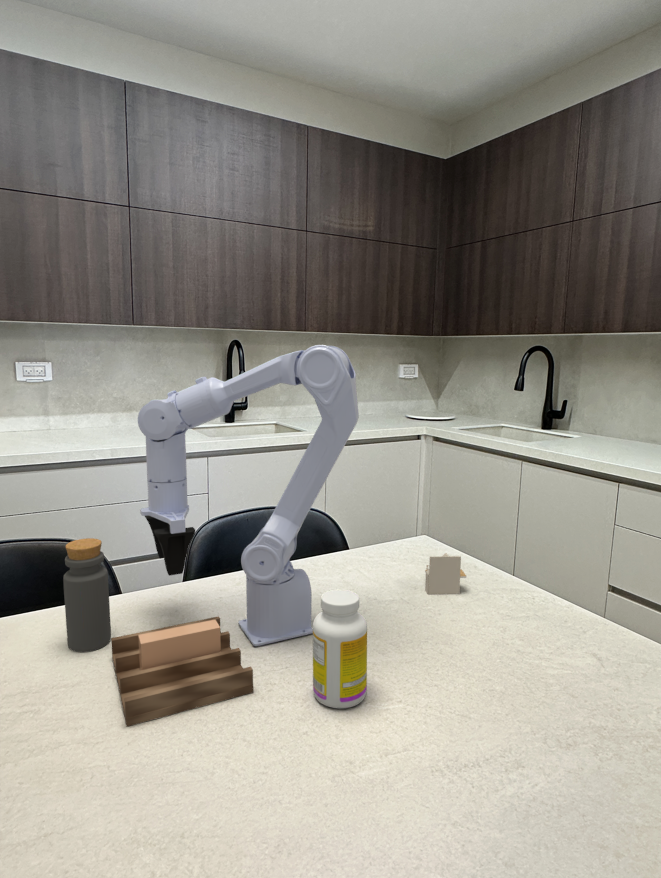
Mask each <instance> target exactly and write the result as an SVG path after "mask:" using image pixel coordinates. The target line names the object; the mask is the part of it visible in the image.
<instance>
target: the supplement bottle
mask: <svg viewBox="0 0 661 878" xmlns="http://www.w3.org/2000/svg"><path fill="white" fill-rule="evenodd" d="M320 608H321V610H322V611H320V612H319V613H318V614H317V615H316V616H315V617H314V619H313V622H312V629H313V633H312V691H313V695H314V698H316V700H317V701H318V702H319V703H320V704H322V705H324V706H326V707H328V708H329V707H330V708H332V709H348V708H352V707H355V706H357V705H358V704H360V703H361V702H363V700H364V699H365V698H366V695H367V691H368V690H367V689H368V688H367V687H368V685H367V682H368V623H367V620H366V618H365V616H364V615H363V614H362V613H360V612H359V608H360V595H359V594H358V593H356V592H355V591H352V590H349V589H343V588H338V589H337V588H336V589H331V590H327V591H324V592H323V593H322V594H321V596H320Z"/></svg>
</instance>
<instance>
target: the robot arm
mask: <svg viewBox="0 0 661 878" xmlns="http://www.w3.org/2000/svg"><path fill="white" fill-rule="evenodd" d="M194 382H195V383H194V384H193V385H191V386H189V387H186V388H184V389H181V390H180V391H177V390H171V391H169V392H168V391H167V394H166V395H167V398H163V399H151V400H149V401H148V402H147V403H146V404H145V405H143V406H141V408H140V410H139V411H138V415H137V425H138V428H139V430H140V432H141V433H142V434H143V436H144V437H145V456H146V478H147V479H146V480H147V482H146V483H147V501H148V502H147V503H148V507H142V508H140V509H139V511H140V512H139V513H140V515H141V516H142V517H144V518H145V520H146V521H147V522H148V525H149V527H150V529H151V532H152V536H153V540H154V543H155V549H156V552H157V556H158V558H159V559H164V560H163V561H164V564H165V570H166V573H167V575H168V576H175V575H182V574H183V573H184V570H185V566H186V561H187V560H186V559H187V555H188V552H189V551H188V549H189V547H190V544H191V542H192V541H193V538H194V537H195V535H196V534H195V533H196V529H195V527H194V526H189V527H186V518H187V517H188V514H189V512H190V505H189V504H188V478H187V477H188V476H187V475H188V473H187V449H186V444H187V443H186V433H187V431H188V430H191V429H195V428H197V427H199V426H202V425H203V424H207V423H209V422H211V421H214V420H215V419H216V420H217V419H218V418H221V417H223V416H226V415H228V414H229V413H230V412H231V409H232V406H233V404H234V402H236V401H238V400H240V399H243V398H246V397H248V396H251V395H253V394H256V393H259V392H261V391H264V390H266V389H269V388H271V387H274V386H277V385H280V384H283V385H289V386H295V387H296V386H300V385H302V386H303V387H304V388H305V390H306V391H307V392H308V393H309V394H310V395H311V397H312V398H313V399H314V402H315V404H316V407H317V409H318V411H319V414H320V417H321V421H320V423H319V425H318V427H317V428H316V431H315V432H314V435H313V436H312V438H311V440H310V442H309V444H308V445H307V448H306V449H305V452H304V453H303V455H302V457H301V459H300V460H299V463H298V465H297V466H296V469H295V470H294V472H293V474H292V476H291V478H290V480H289V482H288V483H287V486H286V487H285V489H284V491H283V493H282V495H281V497H280V498H279V500H278V502H277V505H276V506H275V508H274V510H273V512H272V514H271V516H270V517H269V518H268V520H267V521H266V523H265V525H264V527H262V528H261V529H260V531H259V533H258V535H257V536H256V537H255V538H254V539H253V540H252V542H250V543H249V544H248V545H246V547H244V549H243V551H242V553H241V556H240V557H241V558H240V563H241V568H242V570H243V572H244V573H245V575H246V577H245V579H246V580H245V581H246V583H245V584H246V585H245V586H246V592H245V593H246V618H244V619H239V620H238V625H239V627H240V628H241V630H242V631H243V633H244V634H245V636H246V637H247V638H248V640H249V641H250V643H251V644H252V646H254V647H259V646H264V645H268V644H273V643H277V642H281V641H286V640H290V639H294V638H298V637H302V636H306V635H307V636H308V635H310V634H312V635H313V627H312V587H311V581H310V578H309V575H308V574H307V572H306V571H305V570H304V569H303V568H294V566H293V564H292V562H291V557H292V556H294V553H295V552H296V549H297V538H298V534H299V531H300V530H301V527H302V525H303V523H304V521H305V520H306V518H307V516H308V514H309V511H310V510H311V508H312V507H313V505H314V503H315V501H316V499H317V497H318V495H319V493H320V491H322V490H321V489H322V488H323V486H324V484H325V483H326V481H327V478H328V477H329V476H330V473H331V471H333V470H332V469H333V468H334V466H335V464H336V462H337V460H338V459H339V457H340V455H341V453H342V451H343V449H344V448H345V446H346V443H347V442H348V440H349V438H350V437H351V434H352V433H353V431H354V429H355V427H356V426H357V424H358V421H359V416H360V415H359V414H360V413H359V403H358V393H357V383H356V382H357V373H356V371H355V368H354V366H353V365H352V362H351V360H350V358H349V356H348V354H347V353H346V352H345V351H344V350H343V349H342V348H340V347H338V346H334V345H325V344H316V345H313V346H310V347H308V348H307V349H305V350H304V349H300V350H296V351H293V352H290V353H286V354H283V355H282V354H281V355H279V356H277V357H274V358H272V359H270V360H268V361H266V362H264V363H262V364H259V365H257V366H255V367H252V368H251V369H249V370H247V371H245V372H242V373H240V374H238V375H235V376H234V377H232V378H230V379H227V380H226V381H224V380H221V379H220V378H219V379H218V378H216V377H214V376H213V377H212V376H211V377H209V378H207V376H201V377H199V378H196V379H195V380H194Z"/></svg>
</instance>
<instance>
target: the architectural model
mask: <svg viewBox="0 0 661 878" xmlns="http://www.w3.org/2000/svg"><path fill="white" fill-rule="evenodd" d="M461 564H462V556H461V555H457V556H456V555H455V556H451V555H450V556H449V554H448V552H445V553H444V554H442V556H429V565H428V564H427V565H426V569H425V570H424V573H425V580H424V581H425V583H424V584H425V585H424V587H425V588H424V589H425V590H424V591H425V592H426V593H425V594H426V595H429V596H430V595H431V596H432V595H434V596H435V595H437V596H438V595H460V587H461V579H467V574H466V573H465V572H464V571H463V569H461V566H462V565H461Z"/></svg>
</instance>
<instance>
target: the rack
mask: <svg viewBox="0 0 661 878" xmlns="http://www.w3.org/2000/svg"><path fill="white" fill-rule="evenodd" d="M210 620H216V621H217V623H218V625H219V626H220V627H221V618H220V616H219V615H218V616H215V617H209V618H204V619H198V620H195V621H194V620H193V621H188V622H184V623H180V624H179V623H178V624H174V625H170V626H164V627H160V628H155V629H149V630H145V631H144V630H143V631H139V632H134V633H130V634H124V635H120V636H115V637H111V640H110V642H111V643H110V644H111V656H112V657H111V659H112V663H113V669H114V673H115V678H116V683H117V687H118V693H119V698H120V702H121V707H122V713H123V716H124V722H125V726H126V727H130V726H131V727H132V726H135V725H138V724H142V723H145V722H150V721H153V720H157V719H160V718H163V717H164V718H165V717H168V716H171V715H174V714H175V715H176V714H179V713H182V712H186V711H190V710H193V709H197V708H200V707H206V706H208V705H211V704H212V705H213V704H215V703H219V702H223V701H227V700H230V699H234V698H239V697H242V696H245V695H249V694H253V693H254V669H253V667H252V666H247V667H243V666H242V655H241V654H242V653H241V652H242V651H241V649H240V647H237V648H231V633H230V631H228V630H227V631H223V632H222V631H221V630H220V640H221V652H219V653H214V654H210V655H206V656H201V657H197V658H193V659H188V660H184V661H180V662H175V663H171V664H167V665H162V666H158V667H154V668H149V669H145V670H141V671H140V661H139V640H138V635H140V634H145V633H150V632H155V631H160V630H165V629H170V628H175V627H180V626H185V625H190V624H195V623H200V622H205V621H210Z"/></svg>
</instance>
